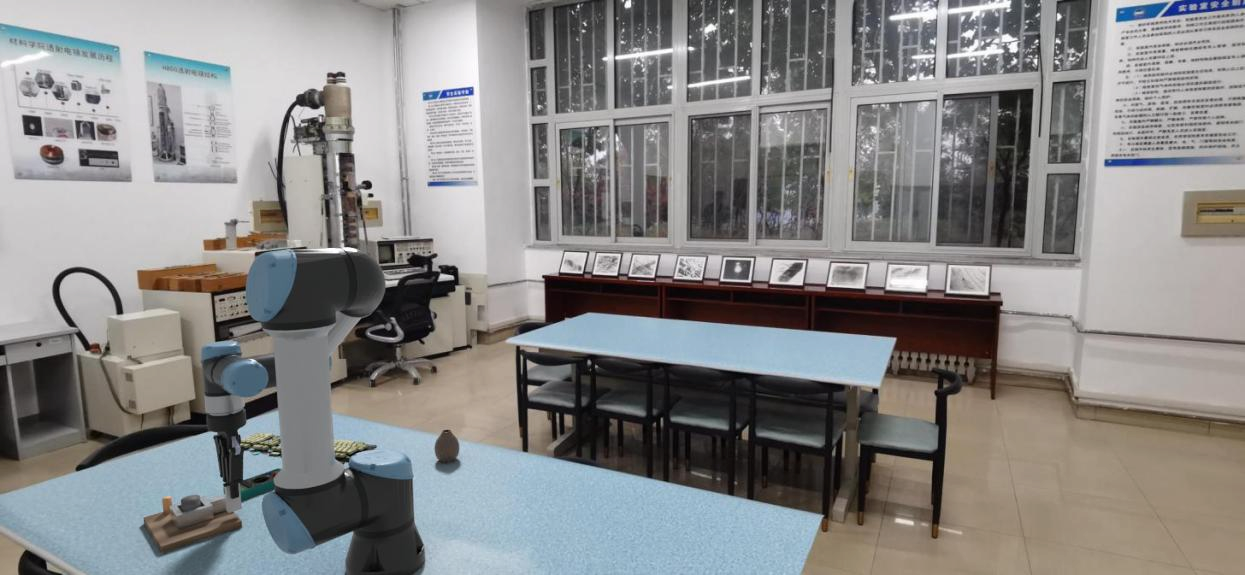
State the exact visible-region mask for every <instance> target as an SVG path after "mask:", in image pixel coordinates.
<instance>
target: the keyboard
mask: <svg viewBox="0 0 1245 575" xmlns="http://www.w3.org/2000/svg"><path fill="white" fill-rule="evenodd" d="M240 445H244V447H245V448H244V451H249V453H251V454H252V456H257V455H260V454H262V455H268V456H269V457H277V458H278V457H280V458H282V454H281V446H280V445H281V440H280V435H275V434H274V433H270V432H269V433H267V432H266V433H264V432H256V433H254V434H252V435H250V436H249V435H248V436H246V437H245V438H241V442H240ZM377 447H378V445H376V444H371V445H369V444H366V443H365V442H364V441H354V440H346V439H334V450H335V459H336V460H337V461H339V462H340V463H342V464H343V465H344V464H345V463H348V462H349V459H350V457H352V456H353V455H354V454H356V453H359V452H363V451H368V450H375V449H376V448H377ZM250 448H251V449H250ZM269 449H270V450H269Z"/></svg>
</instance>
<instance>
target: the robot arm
mask: <svg viewBox="0 0 1245 575" xmlns="http://www.w3.org/2000/svg"><path fill="white" fill-rule="evenodd" d="M245 283H246V284H245V302H246V303H245V304H246V305H247V306H248V307H247V311H248V313H249V316H250V317H251V318H252V319H254V321H257V322H260V323H261V326H262V330H263V332H265V333H266V334H268V335H270V337H272V340H273V352H269V353H264V354H257V355H251V356H246V357H243V356H242V355H243V351H242V348H241V344H240V343H239V342H238V341H232V340H226V341H225V340H224V341H216V342H215V341H214V342H209V343H207V344H204V345H203V346H202V347H201V350H200V351H201V352H200V355H201V357H200V364H201V370H202V372H201V373H202V380H203V382H202V383H203V392H204V394H203V397H204V409H205V412H206V413H207V414H206V417H205V418H206V428H207V431H209V432H212V433H217V434H214V435H213V437H212V438H213V441H214V445H215V451H216V457H217V463H218V470H219V477H220V478H222V482H223V483H222V486H223V488H224V489H225V501H226V511H227V512H228V513H230V512H235V511H238V510H242V509H243V508H242V501H241V493H240V483H241V482H243V480H244V455H245V454H244V453H245V450H244V449H245V447H244V445H240V442H241V440H242V437H241V434H240V433H239V432H238V431H239V429H241V428H243V427H244V426H246V424H247V423H248V422H247V421H248V420H247V413H246V411H247V410H246V409H245V408H244V407H245V406H246V404H245V403H246V402H245V401H246V400H245V398H251V397H256V396H257V395H258V394H260V393H261V392H264V390H266V389H267V390H268V389H272V388H276V394H277V395H276V396H277V397H276V398H277V408H278V411H277V412H278V422H279V425H278V426H279V436H280V440H281V442H280V447H281V454H282V457H281V465H282V468H280V469H281V470H280V471H279V472H278V473H277V474H276V476H275V477H274V490H273V491H269V492H268V493H267V494H265V495H264V496H263V498H262V501H261V511H262V516H263V520H264V522H265V526H266V528H267V530H268V533H269V535H270V536H271V538H272V540H273V542H274V544H276V546H277V547H278V549H279V550H280V551H282V552H283V553H286V554H288V555H296V554H299V553H301V552H305V551H307V550H313V549H315V548H316V547H318V546H320V545H323V544H326V543H328V542H330V541H332V540H334V539H338V538H340V537H342V536H345V535H347V534H350V533H352V535H351V540H350V544H349V546H348V550H347V553H346V557H345V564H344V566H345V567H344V568H345V575H413V574H414V573H415V572H416V571H418V570H419V569H420V568H422V566H423V564H424V562H425V559H426V550H425V544H424V542H423V539H422V537H421V534H420V531H419V529H418V528H417V525H416V522H415V502H414V472H413V465H412V460H411V458H410V456H408V455H407V454H406V453H403V452H401V451H398V450H392V449H372V450H368V451H363V452H359V453H356V454H354V455H353V456H352V457H350V459H349V462H347V465H348V467H347V468H345V465H344V464H342V463H340V462H341V461H338V460H336V459H335V450H334V440H335V437H334V436H335V434H334V421H333V420H334V419H333V404H332V386H331V371H332V367H333V366H332V365H333V359H332V355H333V353H334V352H335V351H336V349H337V348H338V347H339V346H340V345H341V344H342V342H344V340H345V338H346V337H347V336H348V334H350V332H351V331H352V330H353V329H354V327H355V326H356V325H357V324H358V323H359V321H360V320H361V319H363V318H366V317H368V316H371V314H373V312H375V310H376V309H377V308H378V306H379V305H380V304H381V302H382V300H383V298H384V296H385V293H386V286H387V285H386V284H387V283H386V277H385V274H384V271H383V269H382V267H381V266H380V264H379V263H378V262H377V261H376V260H375V258H373V257H372V255H370V254H369V253H366V252H365V251H363V250H360V249H357V248H355V247H349V246H348V247H347V246H343V247H329V248H325V247H324V248H302V249H301V248H300V249H297V248H296V249H289V248H287V249H282V250H281V249H280V250H273V251H268V252H267V251H266V252H263V253H261V254H259V255H258V256H256V258H255V259H254V260H253V262H252V264H251V265H250V267H249V269H248V273H247V277H246V282H245Z"/></svg>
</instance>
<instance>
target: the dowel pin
mask: <svg viewBox="0 0 1245 575" xmlns="http://www.w3.org/2000/svg"><path fill="white" fill-rule="evenodd" d="M172 497H173V496H171V495H168V496H163V497H162V498H161V501H162V502H161V503H162V512H163V513H164V514H169V513H170V506H172V505H173V499H172Z"/></svg>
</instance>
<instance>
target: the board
mask: <svg viewBox="0 0 1245 575" xmlns="http://www.w3.org/2000/svg"><path fill="white" fill-rule="evenodd" d="M200 497H201V495H199V494H189V495H186V496H183V497H182V498H181V499H180V503H181V509H182V512H185V511H189V510H192V509H195V508H199V507H201V503H200ZM213 516H214V518H212V519H209V520H206V521H202V522H199V523H196V524H193V525H189V526H186V527H183V528H180V529H178V528H177V527H176V525H175V524H174V523H173V521H172V520H171V516H170V513H169V514H164V513H163V511H161V512H158V513H154V514H151V515H148V516H145V517H143V524H144V526H145V528H146V529H147V532H148V533H149V535H150V536H151V538H152V540H153V541H154V543H155V545H156V546H157V548H158V549H159V551H160V553H161V554H164V553H167V552H171V551H173V550H177V549H180V548H182V547H185V546H188V545H191V544H194V543H197V542H200V541H203V540H206V539H210V538H213V537H215V536H219V535H222V534H225V533H228V532H231V531H233V530H234V531H235V530H238V529H240V528H243V521H242V520H241V518H240V517H239V516H238V515H237V514H236V513H235V511H233V512H230V513H228V512H227V511H226V510H225V511H222V512H219V513H215V514H213Z"/></svg>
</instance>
